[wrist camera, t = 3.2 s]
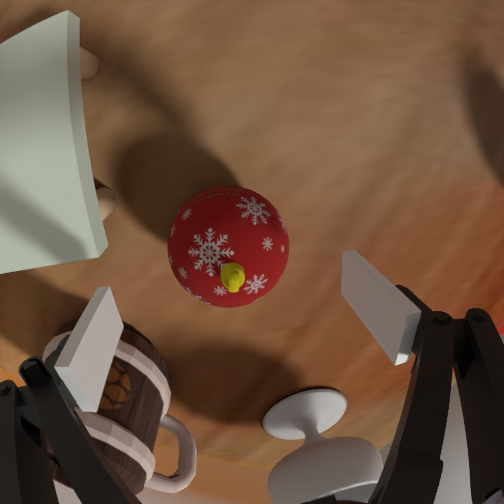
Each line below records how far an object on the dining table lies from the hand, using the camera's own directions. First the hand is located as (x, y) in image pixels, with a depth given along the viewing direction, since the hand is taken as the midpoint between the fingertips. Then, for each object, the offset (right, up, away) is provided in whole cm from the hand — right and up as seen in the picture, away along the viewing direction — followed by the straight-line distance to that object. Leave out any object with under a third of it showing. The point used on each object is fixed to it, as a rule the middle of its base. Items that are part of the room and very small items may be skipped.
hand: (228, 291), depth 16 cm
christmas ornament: (-1, +4, +9) cm, 10 cm away
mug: (-13, -12, +15) cm, 23 cm away
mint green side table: (-18, +11, +4) cm, 21 cm away
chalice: (+9, -20, +21) cm, 31 cm away
